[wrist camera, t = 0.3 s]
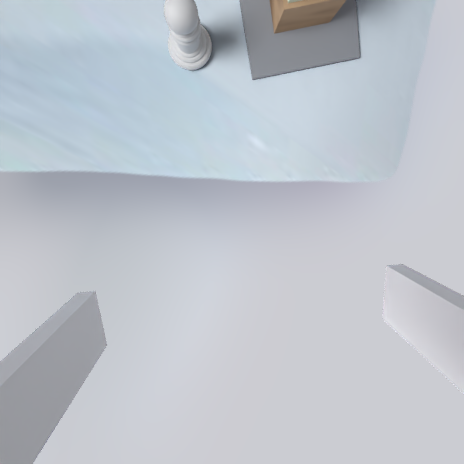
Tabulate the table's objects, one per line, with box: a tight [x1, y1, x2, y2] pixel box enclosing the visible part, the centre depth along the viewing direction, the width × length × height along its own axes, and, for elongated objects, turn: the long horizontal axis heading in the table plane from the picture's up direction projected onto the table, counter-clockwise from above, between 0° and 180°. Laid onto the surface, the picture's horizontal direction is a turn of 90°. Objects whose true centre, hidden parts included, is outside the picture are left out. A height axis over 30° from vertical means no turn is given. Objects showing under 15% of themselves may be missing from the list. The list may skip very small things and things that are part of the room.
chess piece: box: [164, 0, 212, 70], centre depth 28 cm, size 5×5×9 cm
